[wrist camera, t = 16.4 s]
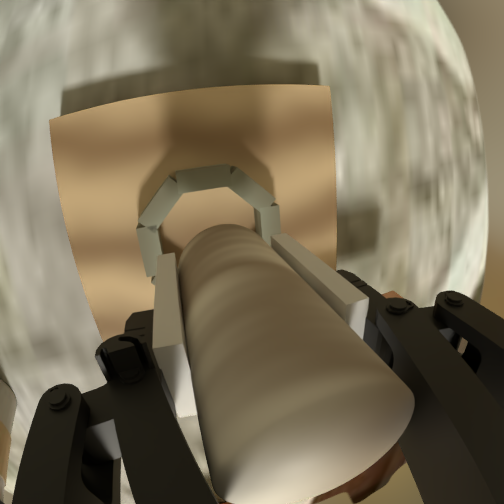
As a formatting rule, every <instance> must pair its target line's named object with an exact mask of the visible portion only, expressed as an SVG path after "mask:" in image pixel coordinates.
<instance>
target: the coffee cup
mask: <svg viewBox="0 0 504 504" xmlns="http://www.w3.org/2000/svg"><path fill="white" fill-rule="evenodd" d="M16 407H17V401H16V397H15V395H14V393H13V392H12V390H11V389H10V388H9V386H8V385H7V384H6V383H5V382H3V381H2V380H1V379H0V504H4V503H3V498H4V497H3V496H4V487H5V486H6V477H7V468H8V459H9V452H10V445H11V431H12V426H13V421H14V416H15V411H16Z"/></svg>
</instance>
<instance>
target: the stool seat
mask: <svg viewBox="0 0 504 504" xmlns="http://www.w3.org/2000/svg"><path fill="white" fill-rule="evenodd" d="M49 124H50V135H51V144H52V152H53V160H54V167H55V173H56V180H57V185H58V191H59V196H60V201H61V206H62V211H63V216H64V220H65V224H66V229H67V233H68V237H69V241H70V244H71V248H72V252H73V256H74V259H75V263H76V266H77V269H78V273H79V276H80V279H81V282H82V285H83V288H84V291H85V294H86V297H87V300H88V303H89V306H90V309H91V311H92V314H93V317H94V319H95V322H96V325H97V327H98V330H99V332H100V335H101V337H102V340H103V342H104V341H106V340H107V339H109V338H111V337H113V336H116V335H120V334H124V328H125V323H126V320H127V319H128V318H129V317H130V315H131V314H132V313H134V312H140V311H146V310H151V309H154V296H155V281H156V268H157V256H158V255H163V254H169V253H175V258H176V263H177V268H178V266H179V260H180V257H181V254H182V252H183V250H184V248H185V247H186V245H187V244H188V243H189V242H190V240H191V239H192V238H193V237H195V236H196V235H197V234H198V233H200V232H201V231H203V230H205V229H207V228H209V227H212V226H215V225H220V224H236V225H241V226H244V227H247V228H249V229H251V230H253V231H254V232H256V233H257V234H258V235H259V236H260V237H261V238H262V239H263V240H264V241H265V242H266V243H267V244H268V245H269V246H270V247H271V237H270V236H271V235H277V234H283V233H287V234H288V235H289V236H291V237H292V238H293V239H295V240H296V241H297V242H298V243H300V244H301V245H302V246H304V247H305V248H306V249H308V250H309V251H310V252H311V253H313V254H314V255H315V256H317V257H318V258H319V259H321V260H322V261H323V262H324V263H326V264H327V265H328V266H330V267H331V268H332V269H333V270H335V271H336V253H337V202H336V168H335V147H334V131H333V118H332V106H331V95H330V86H321V85H295V84H264V85H237V86H222V87H209V88H199V89H190V90H182V91H174V92H167V93H161V94H154V95H148V96H143V97H137V98H132V99H127V100H122V101H118V102H113V103H109V104H104V105H100V106H96V107H92V108H88V109H85V110H81V111H77V112H74V113H70V114H67V115H64V116H60V117H57V118H54V119H51V120H49Z"/></svg>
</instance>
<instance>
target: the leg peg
mask: <svg viewBox="0 0 504 504" xmlns="http://www.w3.org/2000/svg"><path fill="white" fill-rule="evenodd" d="M178 274H179V284H180V294H181V303H182V311H183V320H184V328H185V335H186V343H187V350H188V357H189V363H190V370H191V380H192V387H193V393H194V398H195V404H196V410H197V415H198V420H199V426H200V431H201V436H202V441H203V446H204V450H205V455H206V460H207V464H208V468H209V473H210V477H211V481H212V485H213V488H214V491H215V492H216V494H217V495H218V496H219V497H221V498H222V499H223V500H225V501H228V502H230V503H233V504H290V503H295V502H298V501H302V500H306V499H309V498H312V497H315V496H317V495H320V494H322V493H325V492H327V491H329V490H332V489H334V488H336V487H338V486H340V485H342V484H344V483H346V482H347V481H349V480H351V479H352V478H354V477H356V476H357V475H359V474H360V473H362V472H363V471H365V470H366V469H367V468H369V467H370V466H371V465H373V464H374V463H375V462H376V461H377V460H379V459H380V458H381V457H382V456H383V455H384V454H385V453H386V452H387V451H388V450H389V449H390V448H391V447H392V446H393V445H394V444H395V443H396V441H397V440H398V439H399V437H400V436H401V435H402V433H403V432H404V430H405V429H406V427H407V425H408V423H409V422H410V420H411V417H412V414H413V411H414V406H415V399H414V395H413V393H412V391H411V390H410V389H409V388H408V387H407V385H406V384H405V383H404V382H403V381H402V380H401V379H400V378H399V377H398V376H397V375H396V374H395V373H394V372H393V371H392V370H391V369H390V368H389V367H388V366H387V365H386V363H385V362H384V361H383V360H382V359H381V358H380V357H379V356H378V355H377V354H376V353H375V352H374V351H373V350H372V349H371V348H370V347H369V346H368V345H367V344H366V343H365V342H364V341H363V340H362V339H361V338H360V337H359V336H358V334H357V333H356V332H355V331H354V330H353V329H352V328H351V327H350V326H349V325H348V324H347V323H346V322H345V321H344V320H343V319H342V318H341V317H340V316H339V315H338V314H337V313H336V312H335V311H334V310H333V309H332V308H331V307H330V306H329V305H328V304H327V303H326V302H325V301H324V300H323V299H322V298H321V297H320V296H319V295H318V294H317V293H316V292H315V291H314V290H313V289H312V288H311V287H310V286H309V285H308V284H307V283H306V282H305V281H304V280H303V279H302V278H301V277H300V276H299V275H298V274H297V273H296V272H295V271H294V270H293V269H292V268H291V267H290V266H289V265H288V264H287V263H286V262H285V261H284V260H283V259H282V258H281V257H280V256H279V255H278V254H277V253H276V252H275V251H274V250H273V249H272V248H271V247H270V246H269V245H268V244H267V243H266V242H265V241H264V240H263V239H262V238H261V237H260V236H259V235H258V234H257V233H256V232H254V231H253V230H251V229H249V228H247V227H244V226H241V225H236V224H220V225H215V226H212V227H209V228H207V229H205V230H203V231H201V232H200V233H198V234H197V235H196V236H195V237H193V238H192V239H191V240H190V242H189V243H188V244H187V245H186V247H185V248H184V250H183V252H182V254H181V257H180V260H179V266H178Z"/></svg>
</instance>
